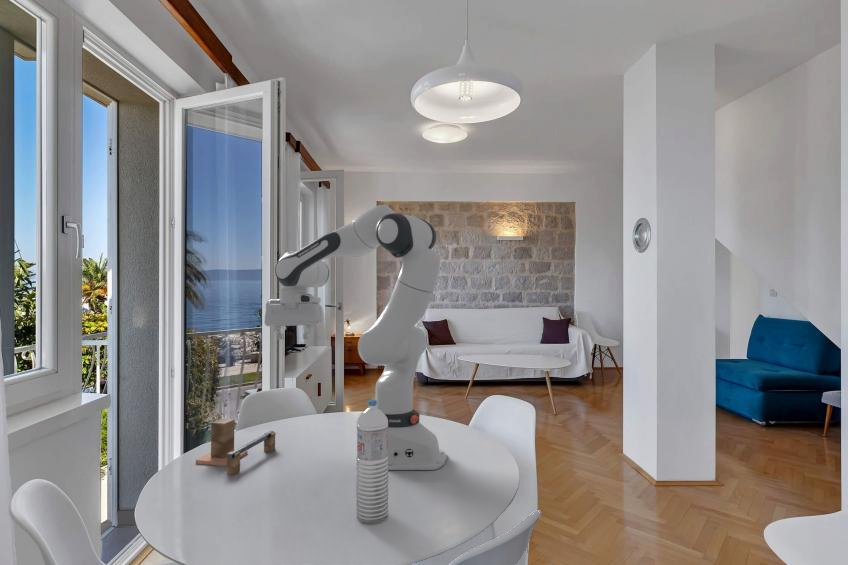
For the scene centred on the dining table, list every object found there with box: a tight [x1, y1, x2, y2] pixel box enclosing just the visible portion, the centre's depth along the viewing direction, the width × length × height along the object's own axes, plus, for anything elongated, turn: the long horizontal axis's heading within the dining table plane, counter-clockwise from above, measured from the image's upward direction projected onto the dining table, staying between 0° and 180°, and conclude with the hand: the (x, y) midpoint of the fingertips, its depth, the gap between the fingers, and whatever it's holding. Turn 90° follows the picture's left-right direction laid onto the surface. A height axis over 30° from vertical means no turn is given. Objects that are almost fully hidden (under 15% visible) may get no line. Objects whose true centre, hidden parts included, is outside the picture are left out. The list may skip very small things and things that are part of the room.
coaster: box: [195, 450, 248, 467], centre depth 132 cm, size 10×10×1 cm
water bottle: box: [356, 399, 389, 525], centre depth 97 cm, size 7×7×25 cm
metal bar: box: [228, 430, 275, 459], centre depth 130 cm, size 1×21×1 cm, turn 168°
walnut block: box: [210, 418, 235, 458], centre depth 132 cm, size 4×4×10 cm
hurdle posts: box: [226, 431, 276, 476], centre depth 130 cm, size 3×20×5 cm, turn 168°
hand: (293, 339), depth 151 cm, fingers open, 8 cm apart
